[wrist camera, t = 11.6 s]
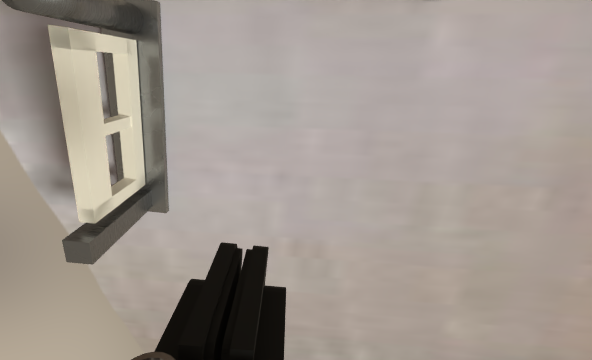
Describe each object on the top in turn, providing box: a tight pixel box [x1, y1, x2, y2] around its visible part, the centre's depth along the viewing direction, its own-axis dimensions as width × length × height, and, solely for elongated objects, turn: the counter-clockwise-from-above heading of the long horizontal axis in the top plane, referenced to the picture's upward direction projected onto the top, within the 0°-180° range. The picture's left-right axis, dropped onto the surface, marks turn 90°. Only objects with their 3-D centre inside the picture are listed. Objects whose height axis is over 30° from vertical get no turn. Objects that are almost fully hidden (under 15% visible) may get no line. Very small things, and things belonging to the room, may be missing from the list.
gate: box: [48, 25, 145, 224], centre depth 29 cm, size 17×2×10 cm, turn 172°
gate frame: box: [2, 0, 169, 264], centre depth 28 cm, size 25×6×14 cm, turn 173°
